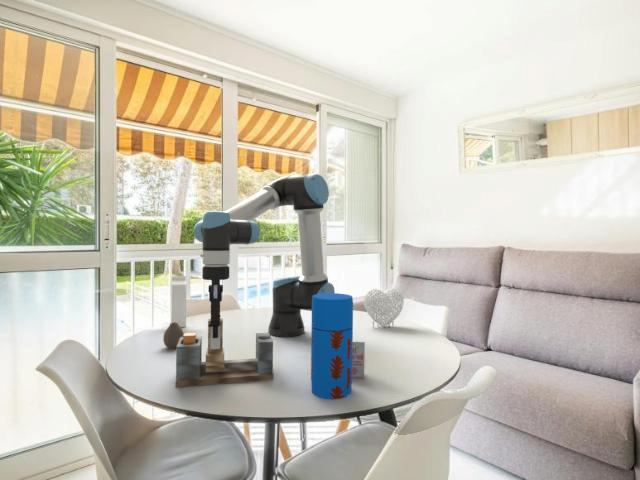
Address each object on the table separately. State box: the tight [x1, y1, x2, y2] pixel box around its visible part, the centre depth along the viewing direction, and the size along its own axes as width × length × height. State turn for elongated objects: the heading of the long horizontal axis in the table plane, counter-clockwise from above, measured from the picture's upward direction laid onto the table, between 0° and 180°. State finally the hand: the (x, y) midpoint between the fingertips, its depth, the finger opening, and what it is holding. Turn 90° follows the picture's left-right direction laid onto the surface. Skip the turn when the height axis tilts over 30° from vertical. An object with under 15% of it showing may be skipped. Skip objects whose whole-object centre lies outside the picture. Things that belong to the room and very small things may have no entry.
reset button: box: [183, 332, 197, 344], centre depth 108 cm, size 3×3×2 cm
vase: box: [163, 322, 185, 350], centre depth 137 cm, size 7×7×9 cm
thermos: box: [310, 292, 354, 400], centre depth 101 cm, size 11×11×25 cm
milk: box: [170, 275, 187, 328], centre depth 169 cm, size 6×6×22 cm
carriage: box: [205, 317, 225, 372], centre depth 110 cm, size 5×7×14 cm
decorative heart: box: [363, 288, 405, 328], centre depth 172 cm, size 18×11×17 cm, turn 97°
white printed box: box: [352, 341, 366, 380], centre depth 112 cm, size 4×7×10 cm, turn 85°
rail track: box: [175, 332, 274, 388], centre depth 111 cm, size 26×12×11 cm, turn 104°
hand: (215, 346), depth 110 cm, fingers closed on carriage, 3 cm apart
